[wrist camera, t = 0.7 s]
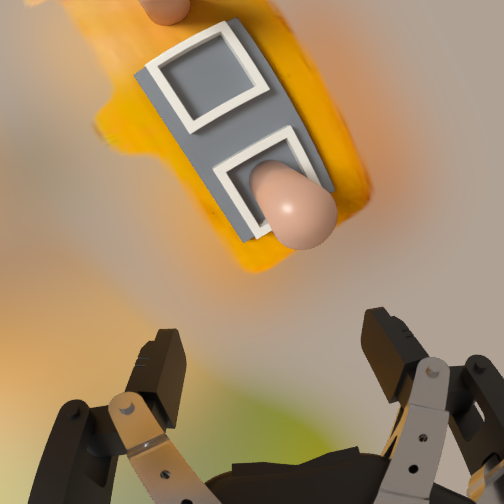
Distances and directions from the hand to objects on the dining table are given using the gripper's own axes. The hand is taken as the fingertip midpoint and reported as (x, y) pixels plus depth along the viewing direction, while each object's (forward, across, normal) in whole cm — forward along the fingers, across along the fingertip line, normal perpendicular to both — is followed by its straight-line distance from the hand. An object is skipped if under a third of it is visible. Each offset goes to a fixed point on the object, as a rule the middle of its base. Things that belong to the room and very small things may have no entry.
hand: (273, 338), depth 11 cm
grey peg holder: (+24, +1, -10) cm, 25 cm away
